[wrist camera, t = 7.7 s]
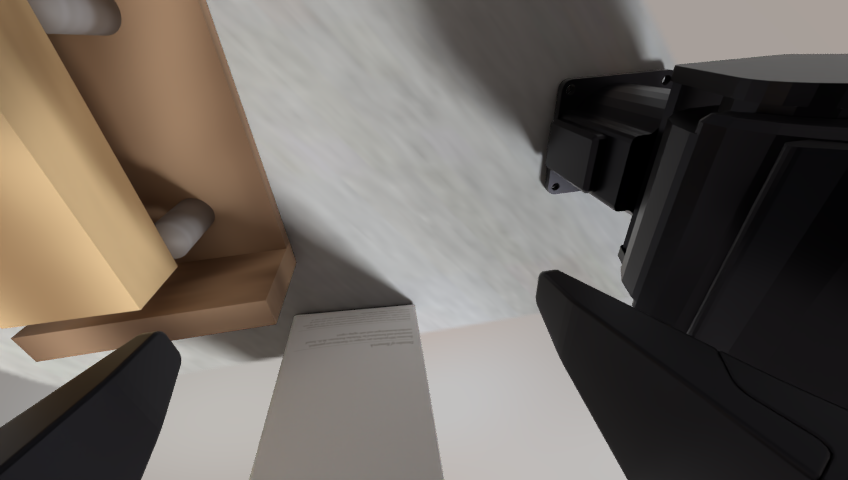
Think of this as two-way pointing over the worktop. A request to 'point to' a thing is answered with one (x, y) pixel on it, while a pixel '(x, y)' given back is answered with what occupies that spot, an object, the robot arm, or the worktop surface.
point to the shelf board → (63, 195)
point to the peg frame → (172, 170)
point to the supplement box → (351, 401)
